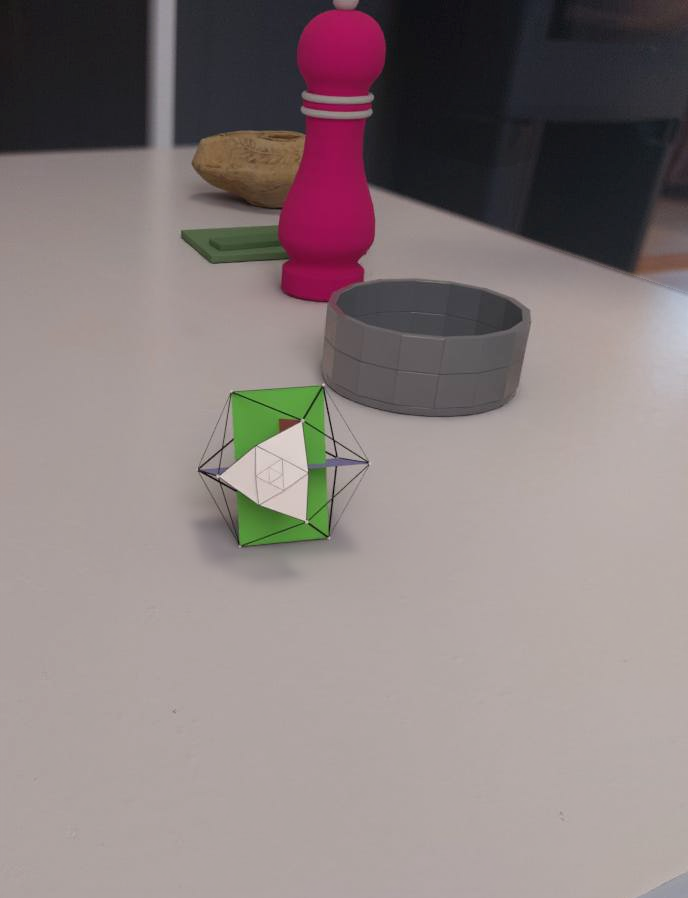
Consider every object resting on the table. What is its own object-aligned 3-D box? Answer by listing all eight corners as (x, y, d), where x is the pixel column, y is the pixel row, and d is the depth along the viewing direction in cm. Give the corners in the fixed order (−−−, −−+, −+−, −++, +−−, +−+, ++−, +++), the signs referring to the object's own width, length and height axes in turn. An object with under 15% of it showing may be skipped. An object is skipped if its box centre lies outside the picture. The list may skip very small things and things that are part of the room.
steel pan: (472, 344, 69) (484, 276, 67) (548, 412, 60) (565, 335, 57) (302, 350, 67) (307, 280, 65) (352, 420, 58) (361, 341, 55)
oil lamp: (193, 189, 109) (194, 104, 104) (334, 193, 109) (342, 109, 104) (188, 212, 100) (189, 120, 95) (342, 217, 100) (351, 125, 95)
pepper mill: (328, 310, 75) (357, -16, 63) (255, 288, 79) (269, -21, 67) (387, 291, 79) (424, -17, 68) (315, 271, 83) (338, -22, 72)
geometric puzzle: (180, 445, 49) (204, 347, 42) (316, 434, 51) (364, 338, 43) (205, 583, 47) (235, 507, 40) (346, 568, 49) (402, 492, 41)
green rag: (325, 229, 95) (326, 216, 95) (366, 253, 88) (367, 240, 88) (180, 237, 92) (180, 224, 91) (211, 263, 85) (211, 249, 84)
